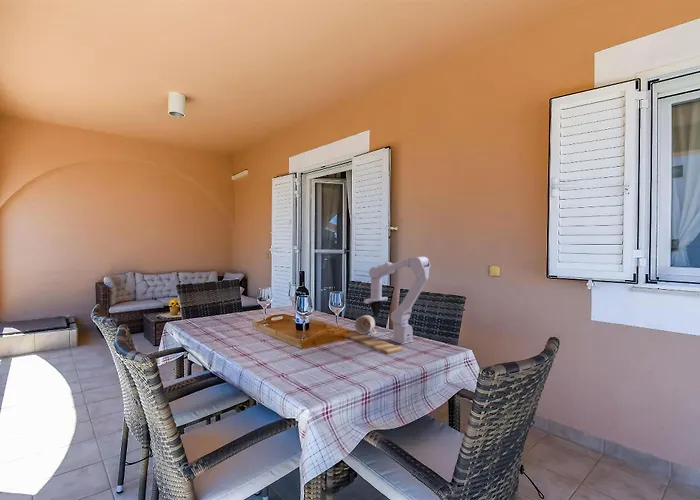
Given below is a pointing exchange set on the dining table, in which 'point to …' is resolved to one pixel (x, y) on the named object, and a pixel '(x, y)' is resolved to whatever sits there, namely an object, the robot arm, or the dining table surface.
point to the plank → (357, 336)
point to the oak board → (381, 345)
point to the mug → (365, 325)
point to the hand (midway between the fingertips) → (375, 315)
